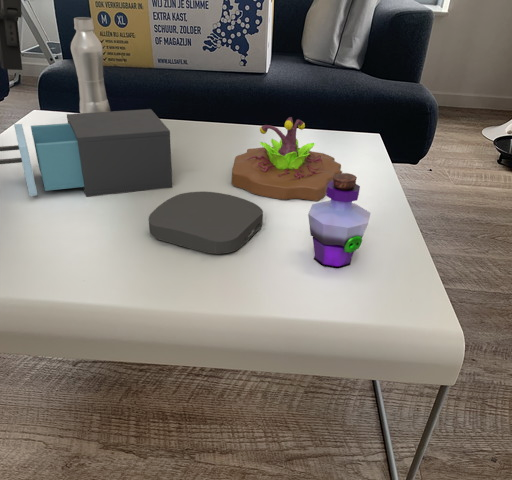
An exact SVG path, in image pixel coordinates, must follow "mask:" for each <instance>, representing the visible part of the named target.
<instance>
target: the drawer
mask: <svg viewBox="0 0 512 480" xmlns="http://www.w3.org/2000/svg"><path fill="white" fill-rule="evenodd" d="M13 125H14V131H15V135H16V141H17V144H16V145H15V144H14V145H5V146H3V145H2V146H0V152H8V151H19V154H20V157H13V158H0V165H8V164H20V163H22V168H23V174H24V178H25V182H26V186H27V190H28V191H27V192H28V196H29V197H34V196H38V191H37V185H36V181H35V177H34V172H33V167H32V162H31V157H30V152H29V148H28V144H27V139H26V135H25V132H24V127H23V124H22V123H15V124H13ZM30 130H31V135H32V139H33V145H34V149H35V154H36V160H37V165H38V169H39V172H40V173H39V174H40V177H41V180H42V184H43V188H44V191H45V192H46V191H47V192H49V191H58V190H65V189H75V188H83V187H84V181H83V175H82V168H81V161H80V155H79V148H78V141H77V139H76V137H75V135H74V132H73V130H72V128H71V126H70V124H69V123H68V122H66V123H51V124H38V125H36V124H35V125H30Z"/></svg>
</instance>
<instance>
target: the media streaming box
mask: <svg viewBox="0 0 512 480" xmlns="http://www.w3.org/2000/svg"><path fill="white" fill-rule="evenodd" d="M263 217H264V211H263V209H262V208H261V206H259V205H258V204H256V203H254V202H252V201H250V200H247V199H245V198H242V197H238V196H235V195H232V194H226V193H222V192H215V191H190V192H189V191H188V192H183V193H179V194H176V195H173V196H172V197H170V198H168V199H166V200H165V201H164V202H162V203H161V204H159V205H158V206H157V207H155V209H154V210H153V211H151V213H150V214H149V215H148V228H149V234H150V235H151V236H152V237H153V238H154V239H157V240H159V241H162V242H166V243H169V244H173V245H176V246H180V247H184V248H187V249H191V250H196V251H199V252H204V253H208V254H217V255H218V254H219V255H220V254H221V255H222V254H229V253H233V252H235V251H237V250H238V249H240V248H241V247H242V246H244V244H246V243H247V242H248V241H249V240H250V239H251V238H252V237H253V236H254V235H255V234H256V233H257V232H258V231H259V230H260V229H261V228H262V226H263V221H264V220H263Z"/></svg>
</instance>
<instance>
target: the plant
mask: <svg viewBox="0 0 512 480" xmlns="http://www.w3.org/2000/svg"><path fill="white" fill-rule="evenodd" d="M305 127H306V125H305V122H304V121H303V120H301V119H300V118H298V119H296V120H295V121H294V120H293V117H292V116H290V117H288V118H287V119H286V120H285V122H284V128H285V130H287V131H286V132H287V133H286V134H284V133H283V132H282V130H280V129H279V128H278V127H276V126H274V125H269V124H264V125H261V127H259V132H260V134H262V135H265V134H267V132H268V130H272V131H273V132H275V133H276V134H277V135H278V137H279V138H280V140H279V141H277V140H276V139H273V138H271V139H270V143H271V145H270V144H269V143H267V142H262V141H259V144H260V146H262V147H256V148H247V149H246V152H243V153H241V154H238V155H236V156H235V157H234V161H233V165H232V169H231V186H233V187H236V188H239V189H242V190H245V191H247V192H248V193H251V194H253V195H256V196H260V197H266V198H271V199H275V200H276V199H277V200H282V201H283V200H284V201H285V200H286V201H287V200H295V199H297V200H304V201H305V200H306V201H314V202H318V201H319V200H321V199H324V197H326V193H327V186H328V184H329V182H331V181H333V176H334V175H336V174H339V173H343V170H341V169H342V164H341V163H340V162H337V161H336V160H335V157H334V156H331V155H329V154H326V153H323V152H317V151H312V149H313V147H315V144H316V143H315V142H308V143H306V144H304V145H302V146H301V147H299V140H298V138H297V129H299V130H301V131H302V130H304V129H305Z"/></svg>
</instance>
